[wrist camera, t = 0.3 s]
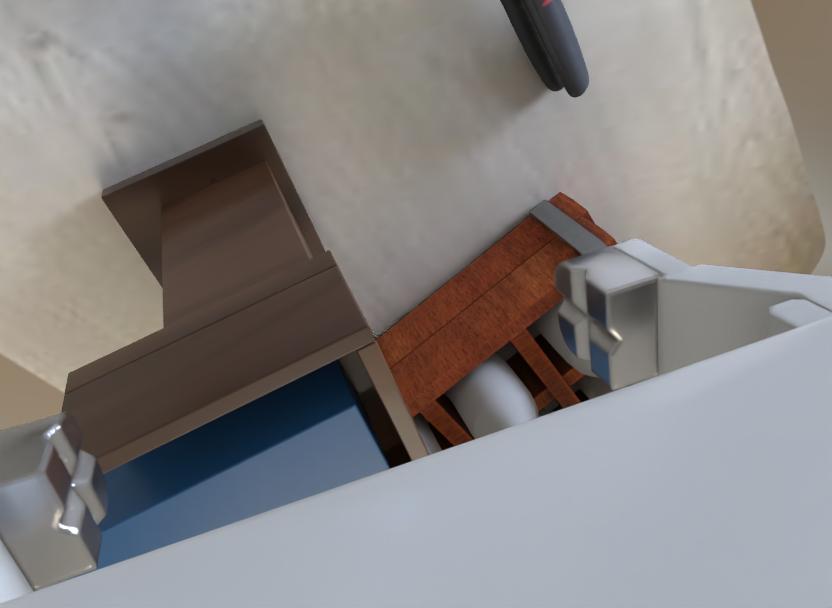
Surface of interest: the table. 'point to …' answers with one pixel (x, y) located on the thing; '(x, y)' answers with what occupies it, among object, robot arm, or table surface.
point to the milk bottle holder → (497, 335)
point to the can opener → (549, 43)
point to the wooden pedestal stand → (228, 307)
